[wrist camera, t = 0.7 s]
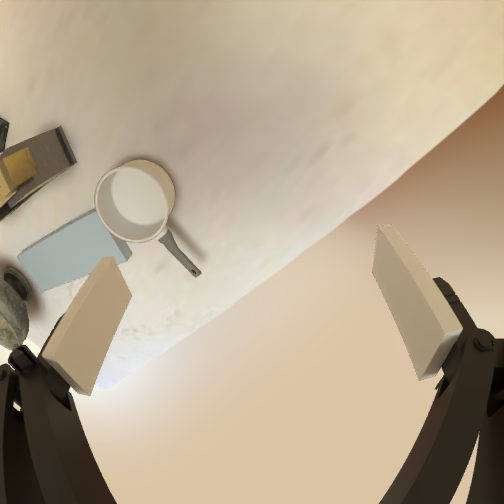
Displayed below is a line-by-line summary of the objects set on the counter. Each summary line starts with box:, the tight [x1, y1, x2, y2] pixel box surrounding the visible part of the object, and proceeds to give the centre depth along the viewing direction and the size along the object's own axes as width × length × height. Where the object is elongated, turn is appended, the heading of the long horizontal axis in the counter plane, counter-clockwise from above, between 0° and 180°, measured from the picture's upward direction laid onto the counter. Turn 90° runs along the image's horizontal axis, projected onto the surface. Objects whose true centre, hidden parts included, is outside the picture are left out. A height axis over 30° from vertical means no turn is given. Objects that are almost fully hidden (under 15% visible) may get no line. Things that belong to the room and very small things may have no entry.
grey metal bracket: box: [0, 126, 77, 222], centre depth 32 cm, size 7×24×12 cm, turn 109°
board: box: [17, 208, 132, 292], centre depth 45 cm, size 10×28×2 cm, turn 109°
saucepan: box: [94, 160, 202, 278], centre depth 39 cm, size 12×20×6 cm, turn 37°
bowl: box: [0, 267, 32, 351], centre depth 45 cm, size 20×19×15 cm
